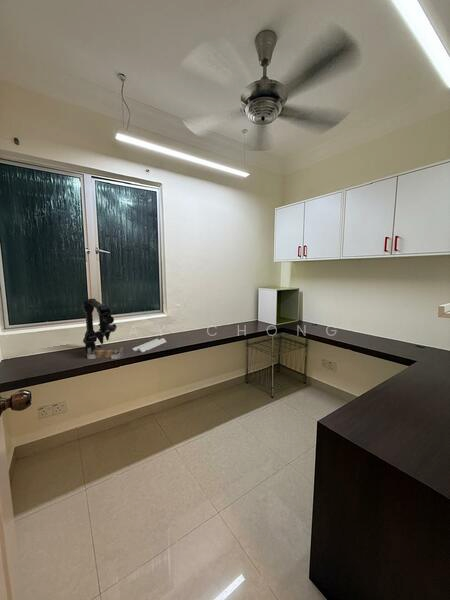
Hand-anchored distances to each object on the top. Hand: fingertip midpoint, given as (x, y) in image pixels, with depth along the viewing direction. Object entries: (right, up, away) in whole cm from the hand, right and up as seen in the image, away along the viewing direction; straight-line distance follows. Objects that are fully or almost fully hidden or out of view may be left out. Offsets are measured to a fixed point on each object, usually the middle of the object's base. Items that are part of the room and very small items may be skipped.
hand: (104, 342), depth 187 cm
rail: (0, -12, +2) cm, 12 cm away
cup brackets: (0, -12, +2) cm, 12 cm away
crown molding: (+26, -9, +28) cm, 39 cm away
